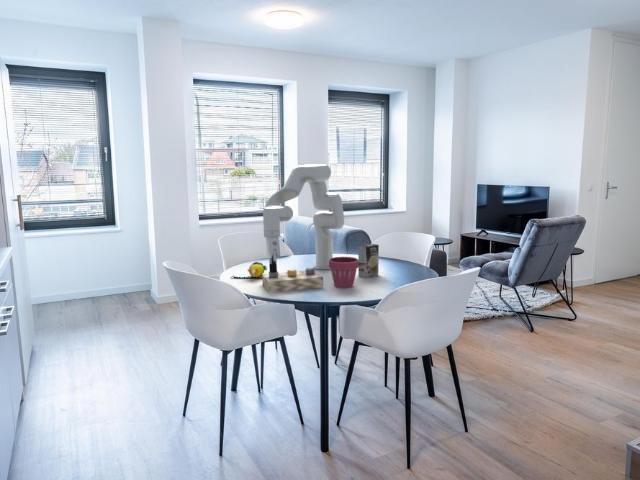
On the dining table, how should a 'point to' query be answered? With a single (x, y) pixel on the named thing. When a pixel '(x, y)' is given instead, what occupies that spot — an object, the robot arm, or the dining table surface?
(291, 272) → the knob mid
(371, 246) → the coffee box
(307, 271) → the knob
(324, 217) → the robot arm
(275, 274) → the knob
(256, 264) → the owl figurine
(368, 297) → the dining table surface
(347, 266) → the plant pot
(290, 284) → the console
